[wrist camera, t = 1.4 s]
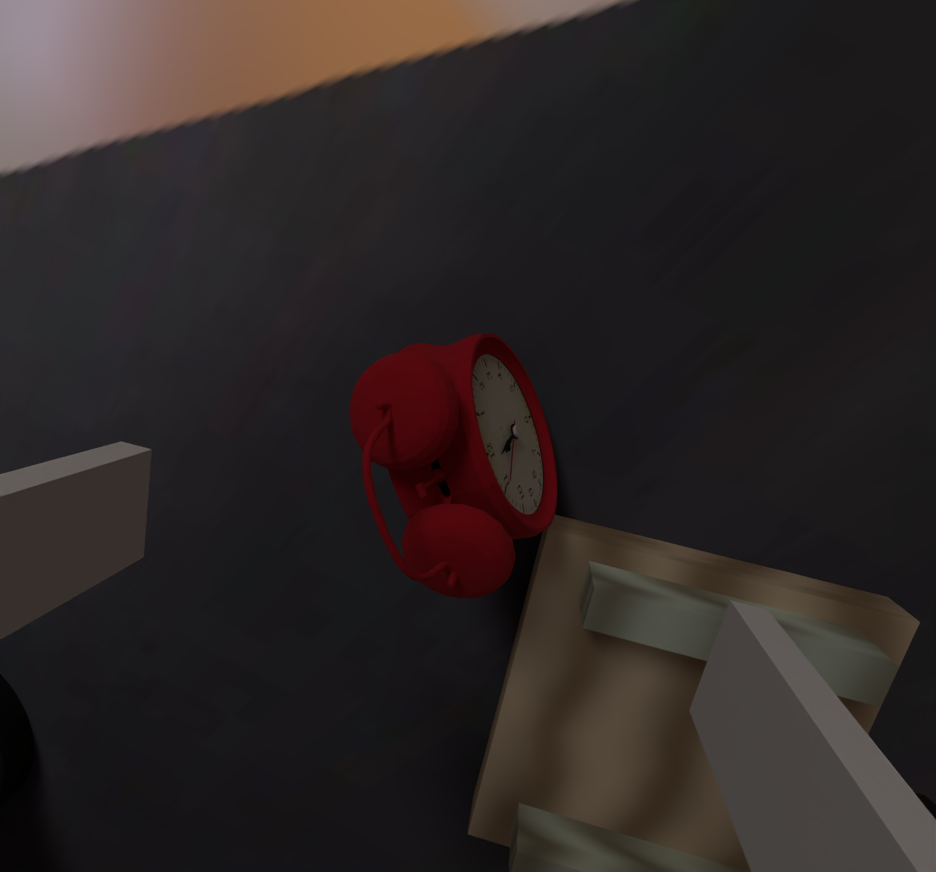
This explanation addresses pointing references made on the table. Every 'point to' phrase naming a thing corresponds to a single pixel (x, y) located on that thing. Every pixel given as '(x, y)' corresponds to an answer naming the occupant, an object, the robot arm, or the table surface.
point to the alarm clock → (457, 459)
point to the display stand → (646, 698)
